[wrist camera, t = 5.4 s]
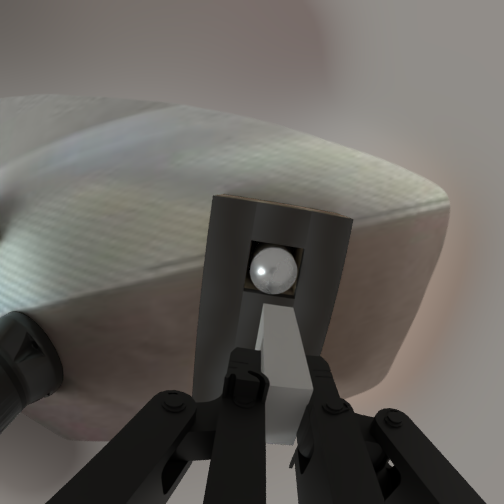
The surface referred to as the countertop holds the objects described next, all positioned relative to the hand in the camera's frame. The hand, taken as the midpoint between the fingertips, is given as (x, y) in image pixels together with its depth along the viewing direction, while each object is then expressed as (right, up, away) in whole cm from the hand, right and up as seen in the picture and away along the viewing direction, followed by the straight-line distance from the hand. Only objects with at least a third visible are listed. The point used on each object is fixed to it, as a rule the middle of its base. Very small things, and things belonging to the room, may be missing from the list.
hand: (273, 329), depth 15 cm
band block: (0, -2, +18) cm, 18 cm away
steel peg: (+1, +4, +16) cm, 17 cm away
